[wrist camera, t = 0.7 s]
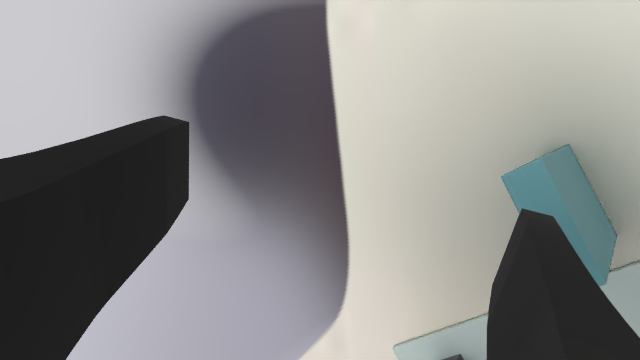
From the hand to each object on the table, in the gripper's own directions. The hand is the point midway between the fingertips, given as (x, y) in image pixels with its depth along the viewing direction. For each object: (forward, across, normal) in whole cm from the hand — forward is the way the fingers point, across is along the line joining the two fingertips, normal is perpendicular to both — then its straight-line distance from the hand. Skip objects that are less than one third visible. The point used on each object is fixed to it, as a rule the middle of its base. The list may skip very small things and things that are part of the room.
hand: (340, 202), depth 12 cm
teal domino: (+17, -9, +8) cm, 21 cm away
